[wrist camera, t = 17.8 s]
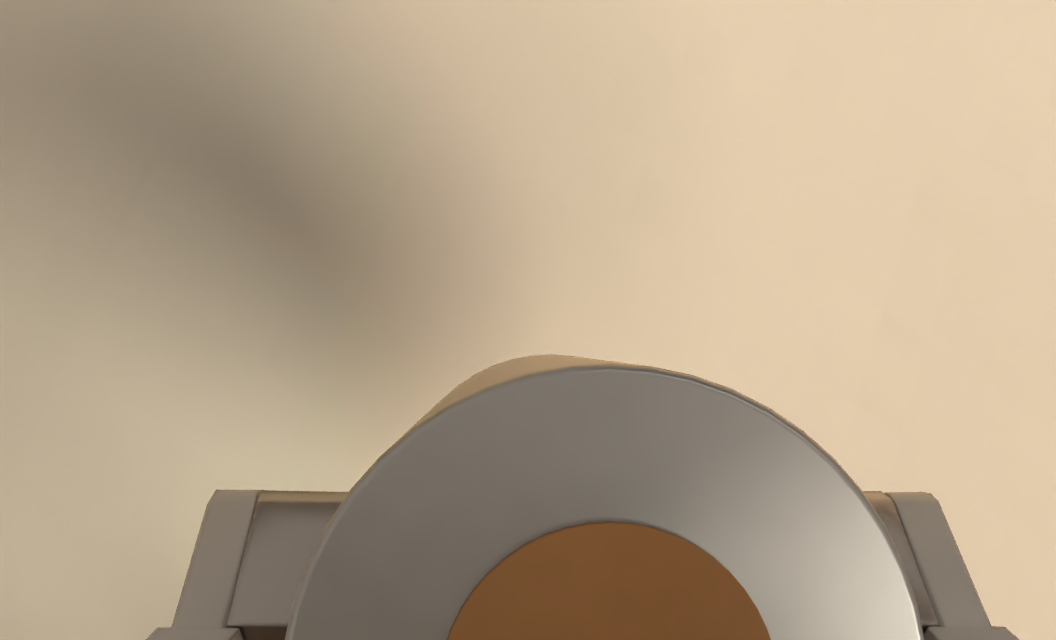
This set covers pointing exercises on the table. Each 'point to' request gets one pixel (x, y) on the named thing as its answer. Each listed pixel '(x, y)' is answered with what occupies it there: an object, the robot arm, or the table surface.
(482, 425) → the cylinder
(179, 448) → the table surface
